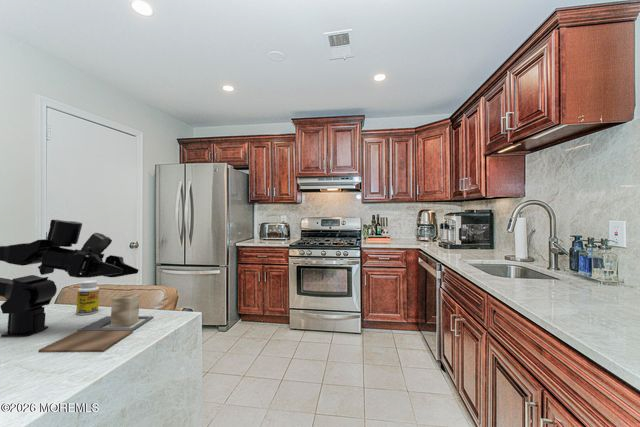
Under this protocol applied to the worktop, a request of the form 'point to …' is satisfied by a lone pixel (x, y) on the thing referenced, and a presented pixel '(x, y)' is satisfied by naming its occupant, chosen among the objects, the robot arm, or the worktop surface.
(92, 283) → the supplement bottle
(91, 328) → the mat
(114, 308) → the beige wooden block
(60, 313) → the worktop surface
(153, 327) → the worktop surface
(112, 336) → the board
